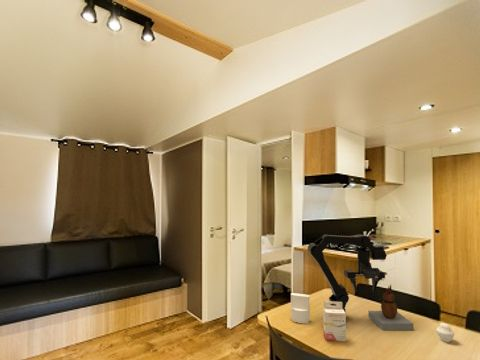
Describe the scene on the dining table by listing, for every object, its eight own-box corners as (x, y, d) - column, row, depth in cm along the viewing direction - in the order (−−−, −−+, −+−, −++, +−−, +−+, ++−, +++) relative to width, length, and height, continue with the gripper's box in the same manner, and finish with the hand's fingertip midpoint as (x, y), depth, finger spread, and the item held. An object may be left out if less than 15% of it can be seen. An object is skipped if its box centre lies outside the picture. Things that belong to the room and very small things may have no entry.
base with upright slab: (289, 322, 135) (289, 296, 135) (293, 314, 143) (292, 291, 144) (308, 325, 131) (307, 299, 132) (311, 317, 139) (310, 293, 140)
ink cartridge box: (325, 340, 117) (325, 305, 118) (323, 334, 122) (322, 300, 123) (346, 341, 116) (345, 305, 117) (343, 335, 121) (342, 301, 122)
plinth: (382, 330, 126) (382, 323, 126) (368, 316, 140) (368, 310, 140) (413, 330, 126) (413, 323, 126) (396, 316, 140) (396, 310, 140)
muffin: (438, 335, 121) (437, 318, 121) (456, 340, 117) (455, 323, 117) (435, 340, 117) (434, 323, 117) (453, 346, 112) (452, 328, 113)
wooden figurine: (392, 314, 136) (391, 283, 137) (400, 319, 130) (398, 286, 131) (379, 314, 135) (378, 283, 136) (386, 320, 129) (385, 287, 130)
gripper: (351, 263, 132) (352, 297, 132) (390, 263, 132) (391, 297, 131) (342, 258, 144) (343, 289, 143) (378, 258, 143) (380, 289, 142)
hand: (364, 291), depth 139 cm, fingers open, 9 cm apart
